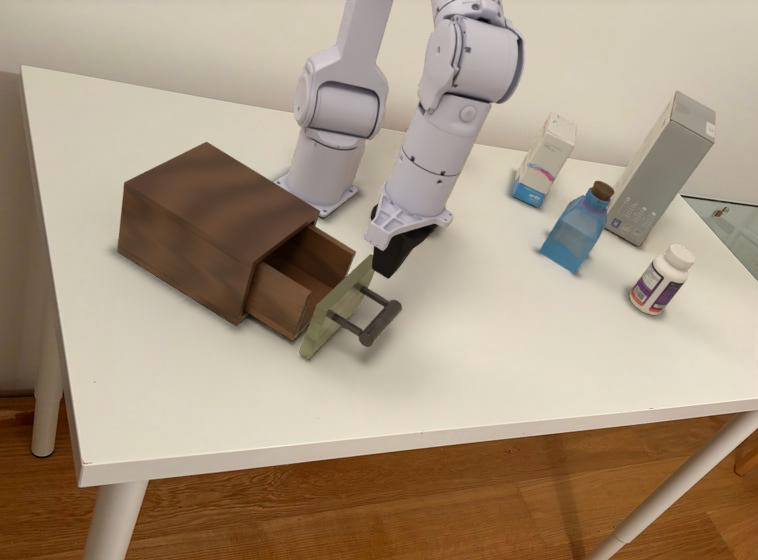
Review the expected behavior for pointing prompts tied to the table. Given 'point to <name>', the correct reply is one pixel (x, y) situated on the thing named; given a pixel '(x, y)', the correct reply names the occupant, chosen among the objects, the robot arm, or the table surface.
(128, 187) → the cabinet
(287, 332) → the drawer
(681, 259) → the pill bottle
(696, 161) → the hard drive box
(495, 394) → the table surface
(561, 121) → the ink box
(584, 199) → the perfume bottle
